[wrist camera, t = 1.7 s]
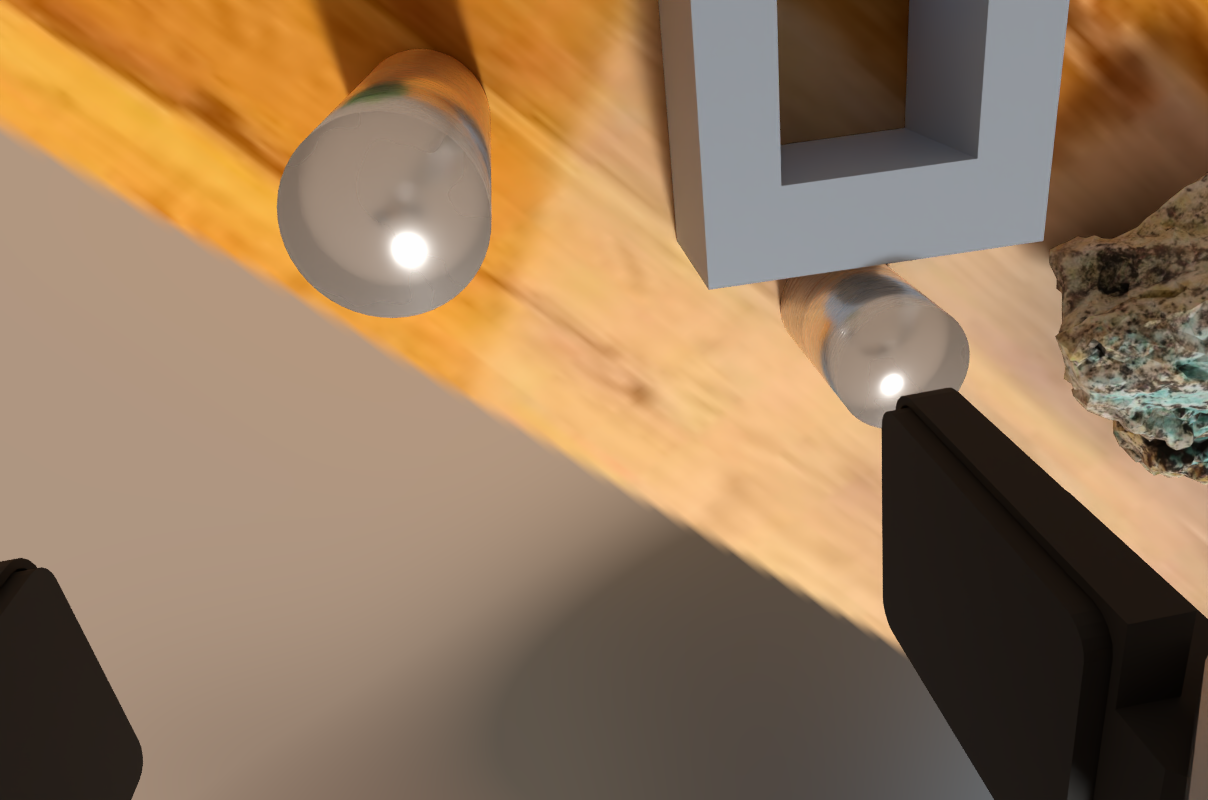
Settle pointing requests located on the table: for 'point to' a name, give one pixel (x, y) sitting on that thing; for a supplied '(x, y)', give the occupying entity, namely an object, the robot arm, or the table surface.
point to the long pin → (394, 189)
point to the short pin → (873, 337)
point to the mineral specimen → (1143, 332)
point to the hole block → (860, 143)
